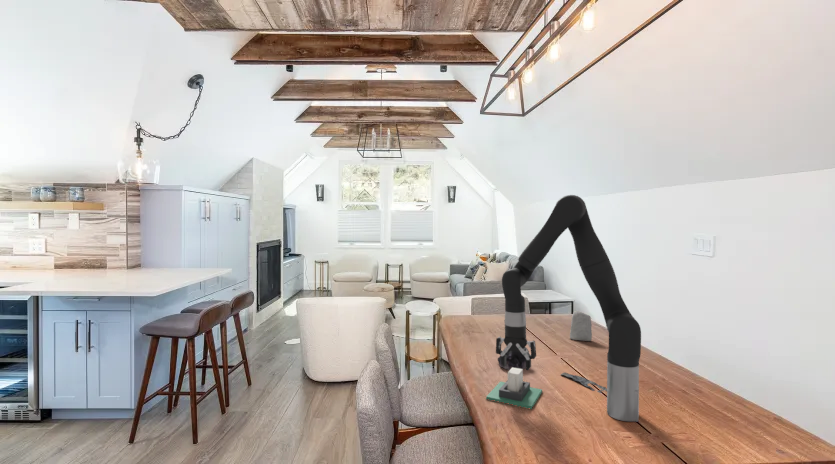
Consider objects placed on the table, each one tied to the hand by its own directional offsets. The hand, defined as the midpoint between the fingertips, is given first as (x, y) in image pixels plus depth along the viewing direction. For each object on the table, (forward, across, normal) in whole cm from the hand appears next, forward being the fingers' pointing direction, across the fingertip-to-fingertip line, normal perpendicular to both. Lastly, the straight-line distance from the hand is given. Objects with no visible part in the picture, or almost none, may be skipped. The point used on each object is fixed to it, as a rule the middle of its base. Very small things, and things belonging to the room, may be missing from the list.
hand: (515, 367), depth 149 cm
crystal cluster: (+10, +10, -30) cm, 33 cm away
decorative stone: (+11, -10, -86) cm, 88 cm away
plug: (+9, 0, 0) cm, 9 cm away
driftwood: (+11, -20, -24) cm, 33 cm away
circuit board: (+10, 0, +1) cm, 10 cm away
